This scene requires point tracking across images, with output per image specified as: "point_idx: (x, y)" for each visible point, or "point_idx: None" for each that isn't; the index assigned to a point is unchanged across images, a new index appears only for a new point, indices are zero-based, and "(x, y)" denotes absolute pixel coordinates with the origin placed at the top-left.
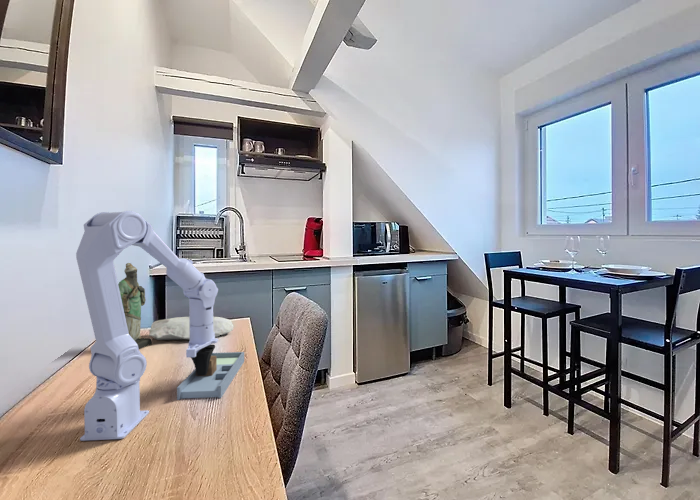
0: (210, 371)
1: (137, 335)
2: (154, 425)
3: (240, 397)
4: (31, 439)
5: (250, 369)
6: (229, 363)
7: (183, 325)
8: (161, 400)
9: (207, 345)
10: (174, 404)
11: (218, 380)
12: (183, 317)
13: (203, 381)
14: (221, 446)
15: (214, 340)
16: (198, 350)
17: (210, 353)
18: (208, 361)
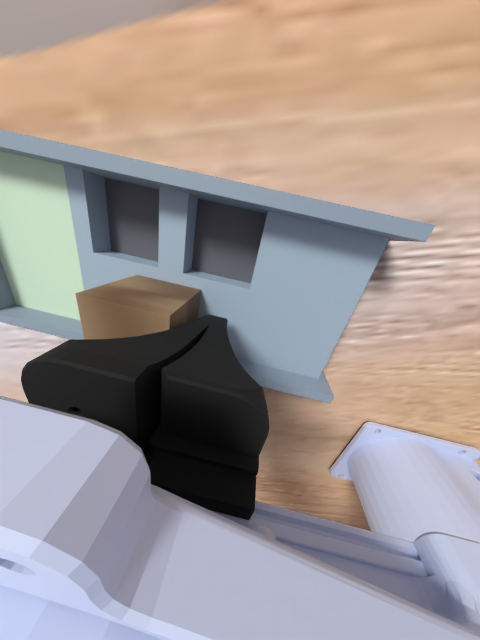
0: (193, 300)
1: None
2: (451, 403)
3: (443, 114)
4: (357, 526)
5: (85, 79)
6: (62, 215)
7: None
8: (300, 403)
9: (280, 557)
10: (345, 375)
11: (263, 253)
12: None
13: (252, 316)
14: None
15: (23, 578)
16: (268, 516)
17: (184, 359)
18: (196, 335)
